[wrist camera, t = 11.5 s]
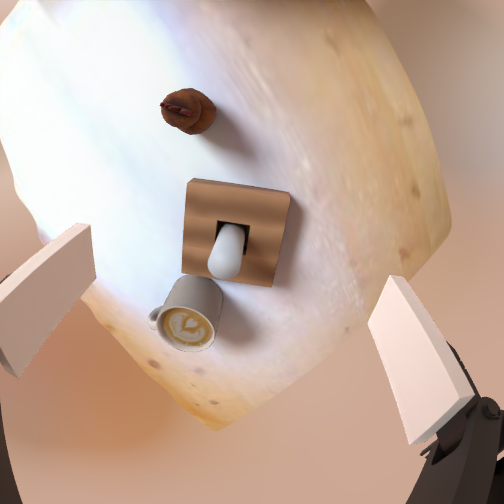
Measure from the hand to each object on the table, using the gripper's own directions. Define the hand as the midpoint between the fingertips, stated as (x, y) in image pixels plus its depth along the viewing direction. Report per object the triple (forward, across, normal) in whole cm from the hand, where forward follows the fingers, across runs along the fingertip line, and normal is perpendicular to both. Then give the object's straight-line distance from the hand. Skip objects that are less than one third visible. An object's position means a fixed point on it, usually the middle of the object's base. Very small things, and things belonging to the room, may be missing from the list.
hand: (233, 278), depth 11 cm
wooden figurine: (+34, -10, +6) cm, 36 cm away
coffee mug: (+33, -9, -27) cm, 43 cm away
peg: (+32, -2, -12) cm, 34 cm away
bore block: (+33, -2, -12) cm, 35 cm away
